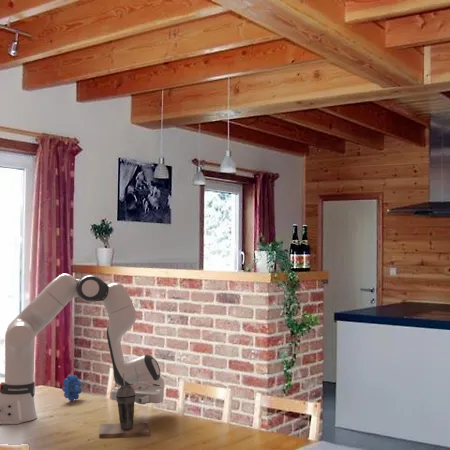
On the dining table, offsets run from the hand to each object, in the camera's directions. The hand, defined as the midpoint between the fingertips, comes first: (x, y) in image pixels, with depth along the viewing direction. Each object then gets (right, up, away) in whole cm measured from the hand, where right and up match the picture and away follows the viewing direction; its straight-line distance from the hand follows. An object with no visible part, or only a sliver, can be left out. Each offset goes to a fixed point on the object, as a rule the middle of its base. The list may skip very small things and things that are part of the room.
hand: (129, 399), depth 255 cm
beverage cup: (0, -9, -5) cm, 10 cm away
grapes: (-31, -12, +44) cm, 55 cm away
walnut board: (-1, -11, -5) cm, 12 cm away
